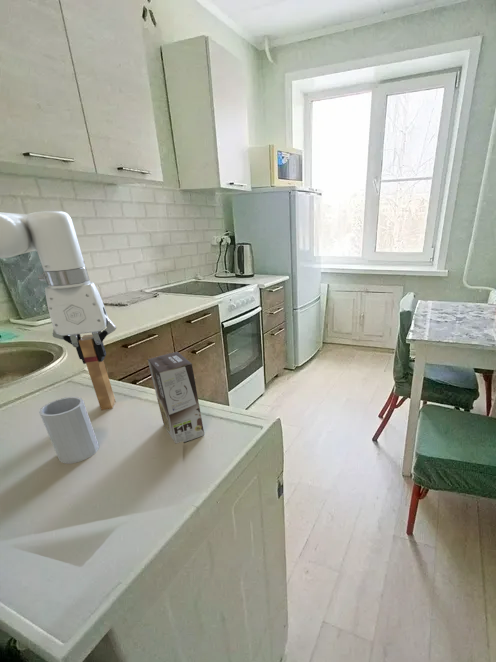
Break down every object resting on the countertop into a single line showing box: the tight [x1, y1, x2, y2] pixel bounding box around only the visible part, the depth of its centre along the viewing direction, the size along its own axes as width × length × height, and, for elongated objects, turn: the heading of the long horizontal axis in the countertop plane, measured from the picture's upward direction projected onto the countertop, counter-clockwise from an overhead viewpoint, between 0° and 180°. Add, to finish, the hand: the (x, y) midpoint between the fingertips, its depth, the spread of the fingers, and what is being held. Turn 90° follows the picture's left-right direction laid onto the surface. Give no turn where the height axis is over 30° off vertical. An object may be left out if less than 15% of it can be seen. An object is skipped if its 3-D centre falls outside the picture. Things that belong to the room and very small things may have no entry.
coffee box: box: [147, 351, 205, 444], centre depth 72 cm, size 9×6×16 cm
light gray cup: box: [38, 396, 100, 465], centre depth 67 cm, size 7×7×11 cm
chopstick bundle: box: [79, 334, 117, 411], centre depth 82 cm, size 3×4×18 cm, turn 13°
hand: (94, 359), depth 81 cm, fingers closed on chopstick bundle, 2 cm apart
